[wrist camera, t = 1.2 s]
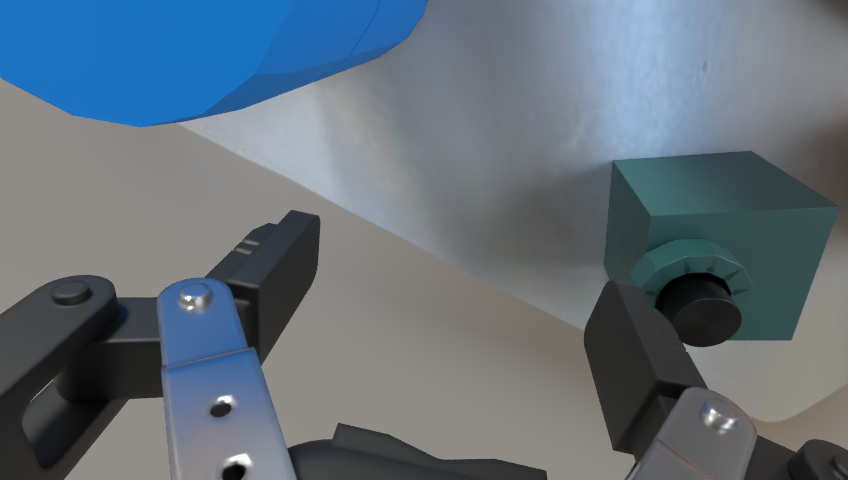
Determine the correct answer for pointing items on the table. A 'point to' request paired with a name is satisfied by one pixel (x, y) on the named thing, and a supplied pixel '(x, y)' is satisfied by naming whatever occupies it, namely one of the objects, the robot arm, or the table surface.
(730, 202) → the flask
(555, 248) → the table surface
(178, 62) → the thermos
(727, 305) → the black knob
